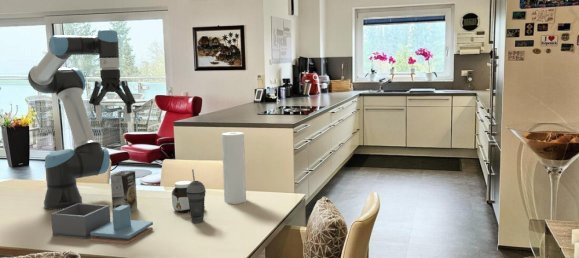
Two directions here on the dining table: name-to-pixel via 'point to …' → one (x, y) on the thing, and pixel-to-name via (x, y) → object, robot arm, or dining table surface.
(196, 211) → the beverage cup
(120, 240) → the rubber mat
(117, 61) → the robot arm
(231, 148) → the paper towel roll
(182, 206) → the spread jar
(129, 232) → the lid
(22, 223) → the dining table surface
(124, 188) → the coffee box
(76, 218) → the storage box
